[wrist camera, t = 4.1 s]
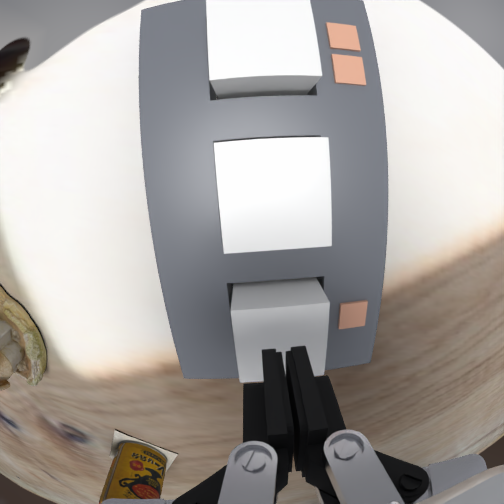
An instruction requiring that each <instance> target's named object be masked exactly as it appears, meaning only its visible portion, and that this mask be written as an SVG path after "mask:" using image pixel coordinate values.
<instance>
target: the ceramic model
mask: <svg viewBox="0 0 504 504" xmlns="http://www.w3.org/2000/svg"><path fill="white" fill-rule="evenodd" d="M46 358H47V356H46V349H45V346H44V343H43V340H42V338H41V335H40V333H39V331H38V329H37V327H36V326H35V324H34V323H33V321H32V320H31V319H30V317H29V315H28V314H27V313H26V311H25V310H24V309H23V308H22V307H21V305H19V304H18V303H17V302H16V301H15V300H13V299H12V298H11V297H9V296H8V295H7V294H6V293H5V292H4V290H3V289H2V287H1V286H0V391H1V390H5V389H7V388H9V387H10V383H9V382H8V381H7V380H8V379H9V378H10V376H11V375H12V374H13V373H15V374H17V375H18V376H20V377H22V378H24V379H26V380H27V383H28V384H29V385H31V386H36V385H37V383H38V382H39V381H41V379H42V377H43V373H44V371H45V368H46V361H47V360H46Z"/></svg>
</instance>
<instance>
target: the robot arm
mask: <svg viewBox="0 0 504 504" xmlns="http://www.w3.org/2000/svg"><path fill="white" fill-rule="evenodd" d="M262 365H263V379H264V383H249V384H244V386H243V443H242V444H240V445H238V446H236V447H235V448H234V449H233V450H232V452H231V454H230V456H229V460H228V464H227V465H226V466H224V467H223V468H222V469H220V470H219V471H218V472H216V473H215V474H213V475H212V476H210V477H209V478H208V479H206V480H205V481H203V482H202V483H200V484H199V485H197V486H196V487H194V488H193V489H191V490H189V491H188V492H186V493H185V494H183V495H181V496H180V497H178V498H177V499H176V500H164V499H116V498H112V499H107V500H105V501H103V502H102V503H101V504H277V497H278V492H279V491H281V490H282V489H283V488H284V487H285V486H286V485H287V484H288V472H292V460H293V455H294V462H295V469H296V471H301V472H302V477H305V479H306V482H307V483H309V484H311V485H313V486H314V488H315V491H316V494H317V497H318V499H319V502H320V504H504V465H501V466H497V467H494V468H491V469H488V470H487V467H486V463H485V461H484V459H483V458H482V457H481V456H479V455H477V454H469V455H466V456H462V457H459V458H455V459H451V460H447V461H443V462H439V463H434V464H429V465H428V466H427V467H423V468H421V467H419V466H416V465H413V464H410V463H407V462H404V461H402V460H399V459H396V458H393V457H391V456H388V455H386V454H383V453H380V452H378V451H375V450H373V448H372V446H371V445H370V443H369V441H368V439H367V438H366V437H365V436H364V435H363V434H361V433H360V432H358V431H354V430H346V427H345V424H344V421H343V418H342V415H341V412H340V409H339V406H338V403H337V400H336V397H335V394H334V391H333V388H332V385H331V382H330V379H329V377H328V376H320V377H314V374H313V370H312V367H311V363H310V360H309V356H308V353H307V349H306V346H296V347H291V351H286V375H285V369H284V363H283V357H282V352H276V349H262Z"/></svg>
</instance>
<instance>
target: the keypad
mask: <svg viewBox="0 0 504 504" xmlns="http://www.w3.org/2000/svg"><path fill="white" fill-rule="evenodd" d="M310 3H311V8H312V13H313V18H314V24H315V30H316V35H317V42H318V48H319V55H320V62H321V69H322V77H321V78H320V79H319V81H318V82H317V83H316V84H315V85H314V86H313V87H312V89H311V90H310V91H309V92H308V93H307V95H283V96H257V97H242V98H230V99H220V100H216V93H215V91H214V89H213V86H212V84H211V82H210V80H209V62H208V41H207V14H206V0H181V1H176V2H172V3H167V4H163V5H158V6H154V7H151V8H147V9H143V10H141V24H140V44H139V108H140V129H141V145H142V157H143V168H144V178H145V187H146V196H147V204H148V211H149V219H150V226H151V232H152V238H153V245H154V251H155V256H156V262H157V267H158V273H159V278H160V283H161V288H162V292H163V297H164V302H165V306H166V311H167V315H168V319H169V324H170V328H171V332H172V336H173V340H174V344H175V347H176V351H177V355H178V359H179V362H180V366H181V369H182V373H183V376H184V378H188V379H218V378H239V372H238V365H237V358H236V350H235V343H234V335H233V327H232V319H231V311H230V310H231V302H232V294H233V284H232V283H242V282H256V281H270V280H283V279H296V278H308V277H316V278H317V280H318V282H319V284H320V285H321V287H322V289H323V291H324V293H325V294H326V296H327V298H328V300H329V302H330V309H329V325H328V339H327V351H326V361H325V370H329V369H336V368H343V367H349V366H354V365H360V364H365V363H370V362H371V357H372V352H373V347H374V341H375V336H376V330H377V324H378V318H379V311H380V304H381V296H382V288H383V279H384V269H385V258H386V244H387V225H388V158H387V139H386V126H385V115H384V105H383V97H382V89H381V82H380V76H379V69H378V64H377V58H376V53H375V48H374V43H373V38H372V34H371V29H370V25H369V21H368V17H367V13H366V9H365V6H364V2H363V1H362V0H310ZM297 137H328V139H329V155H330V175H331V208H332V246H327V247H313V248H299V249H285V250H271V251H257V252H243V253H229V254H224V250H223V240H222V231H221V221H220V210H219V200H218V189H217V177H216V165H215V153H214V143H217V142H228V141H239V140H252V139H269V138H297Z"/></svg>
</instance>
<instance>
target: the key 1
mask: <svg viewBox="0 0 504 504" xmlns="http://www.w3.org/2000/svg"><path fill="white" fill-rule="evenodd" d="M206 14H207V41H208V62H209V80H210V82H211V84H212V86H213V89H214V91H215V93H216V95H217V97H218V99H219V100H220V99H230V98H242V97H257V96H283V95H307V93H308V92H309V91H310V90H311V89H312V87H313V86H314V85H315V84H316V83H317V82H318V81H319V79H320V78H321V77H322V69H321V62H320V55H319V48H318V42H317V35H316V30H315V24H314V18H313V13H312V8H311V3H310V0H206Z"/></svg>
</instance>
